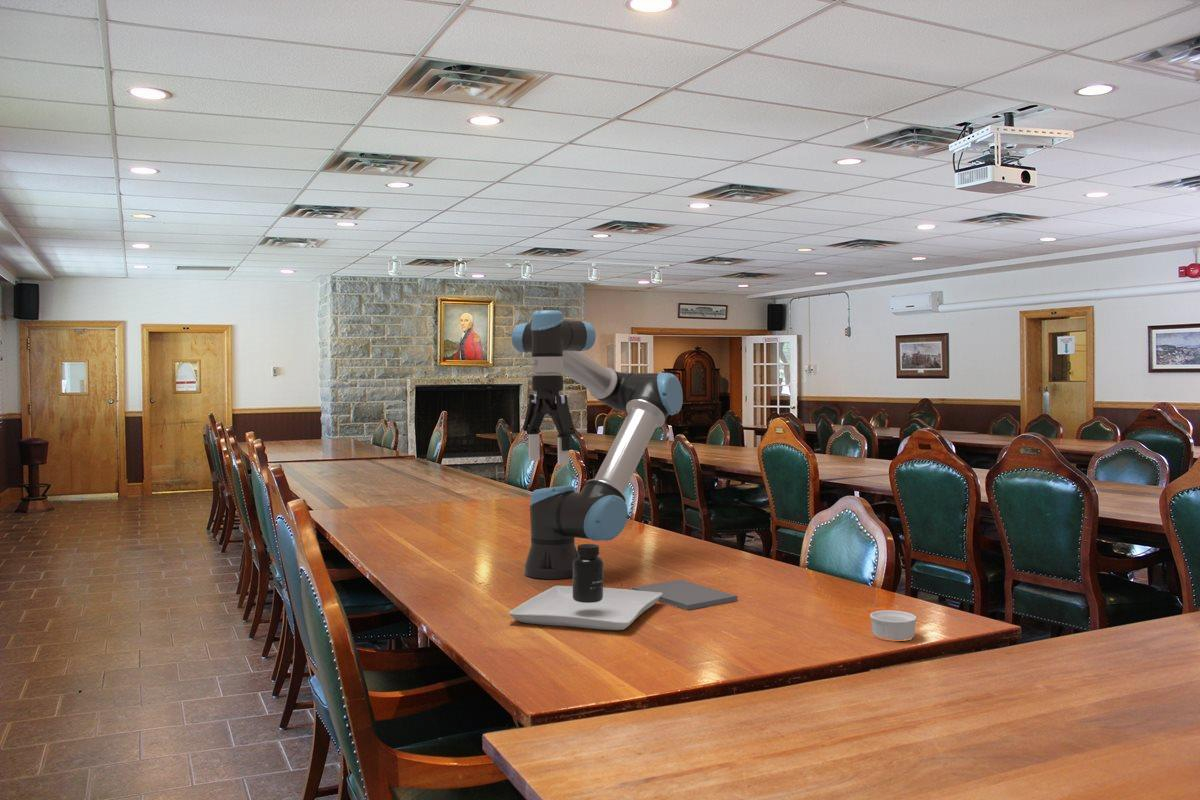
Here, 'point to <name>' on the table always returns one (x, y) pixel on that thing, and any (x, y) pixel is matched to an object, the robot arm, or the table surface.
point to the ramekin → (893, 624)
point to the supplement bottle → (587, 574)
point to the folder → (688, 594)
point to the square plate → (585, 608)
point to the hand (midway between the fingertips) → (548, 462)
